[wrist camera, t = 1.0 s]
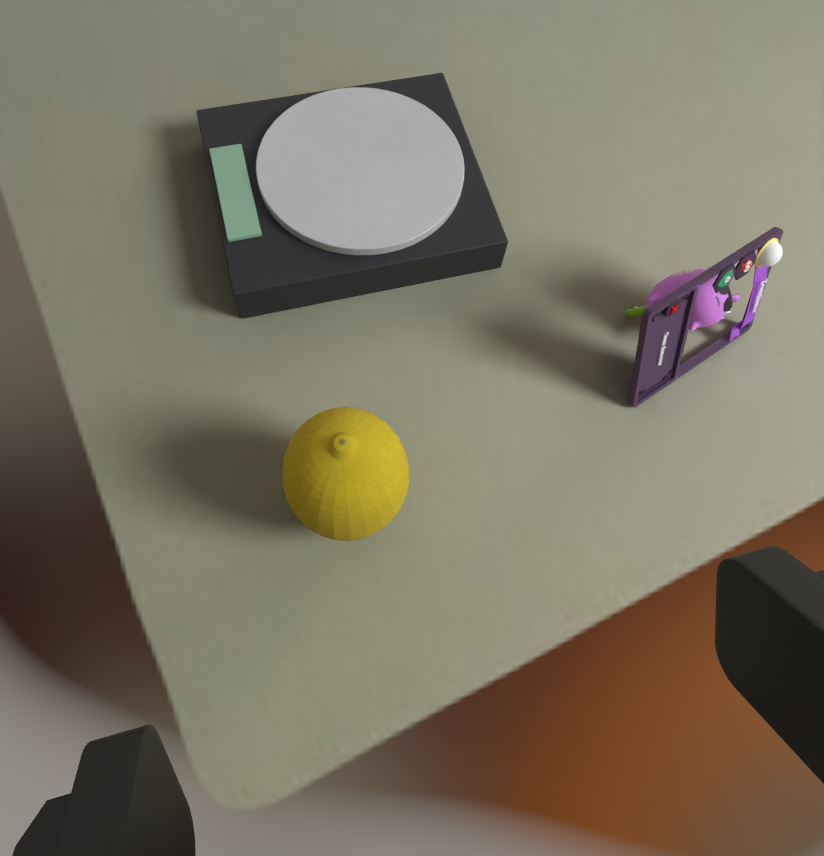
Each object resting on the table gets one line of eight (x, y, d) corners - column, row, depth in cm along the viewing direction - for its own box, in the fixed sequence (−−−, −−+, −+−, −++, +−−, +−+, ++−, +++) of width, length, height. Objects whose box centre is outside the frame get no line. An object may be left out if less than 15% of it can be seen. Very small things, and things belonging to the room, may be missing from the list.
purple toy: (661, 322, 30) (797, 234, 33) (580, 268, 33) (710, 191, 36) (643, 417, 36) (761, 335, 38) (574, 363, 39) (688, 290, 41)
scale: (241, 319, 37) (230, 288, 34) (205, 141, 42) (193, 101, 39) (501, 267, 39) (510, 234, 36) (439, 103, 44) (444, 63, 41)
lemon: (426, 486, 34) (441, 425, 27) (363, 579, 32) (359, 541, 25) (336, 428, 35) (326, 353, 27) (269, 515, 33) (239, 460, 26)
